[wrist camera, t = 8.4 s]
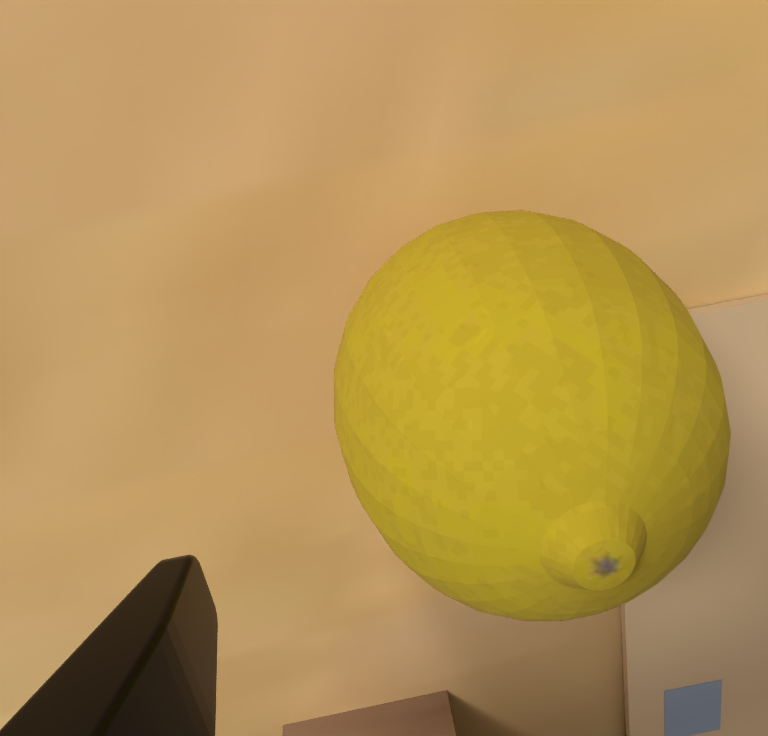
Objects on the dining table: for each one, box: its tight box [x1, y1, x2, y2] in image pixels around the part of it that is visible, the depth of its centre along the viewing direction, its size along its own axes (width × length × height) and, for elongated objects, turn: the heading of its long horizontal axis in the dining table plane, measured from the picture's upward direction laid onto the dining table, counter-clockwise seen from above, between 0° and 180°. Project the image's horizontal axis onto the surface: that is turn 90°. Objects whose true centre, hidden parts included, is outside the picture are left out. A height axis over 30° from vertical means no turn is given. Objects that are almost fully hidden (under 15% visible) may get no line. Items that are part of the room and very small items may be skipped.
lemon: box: [334, 210, 731, 621], centre depth 11 cm, size 6×6×8 cm
